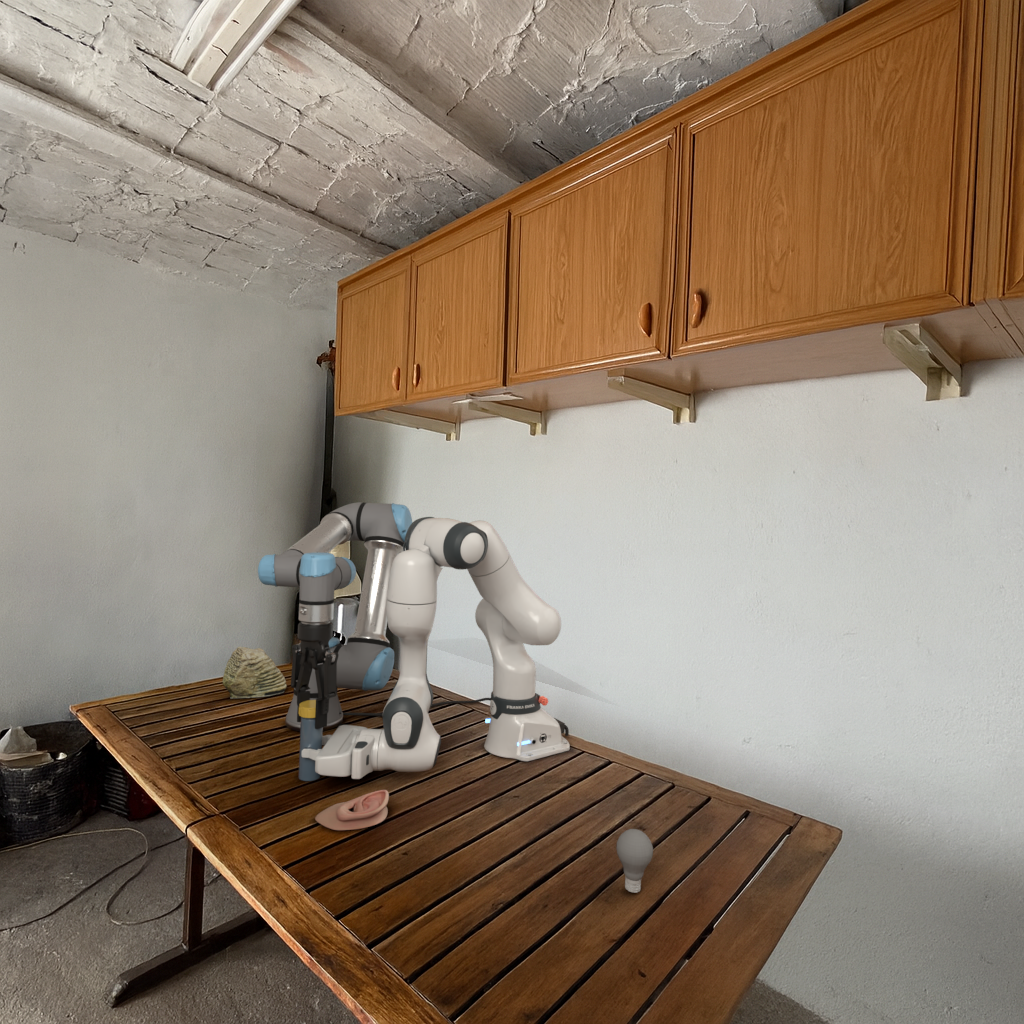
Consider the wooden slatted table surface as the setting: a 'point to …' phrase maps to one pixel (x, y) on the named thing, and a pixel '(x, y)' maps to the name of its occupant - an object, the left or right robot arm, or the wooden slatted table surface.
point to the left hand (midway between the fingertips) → (311, 723)
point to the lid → (307, 709)
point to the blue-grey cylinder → (309, 739)
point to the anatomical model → (356, 812)
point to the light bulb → (634, 857)
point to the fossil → (252, 674)
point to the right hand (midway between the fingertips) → (306, 746)
